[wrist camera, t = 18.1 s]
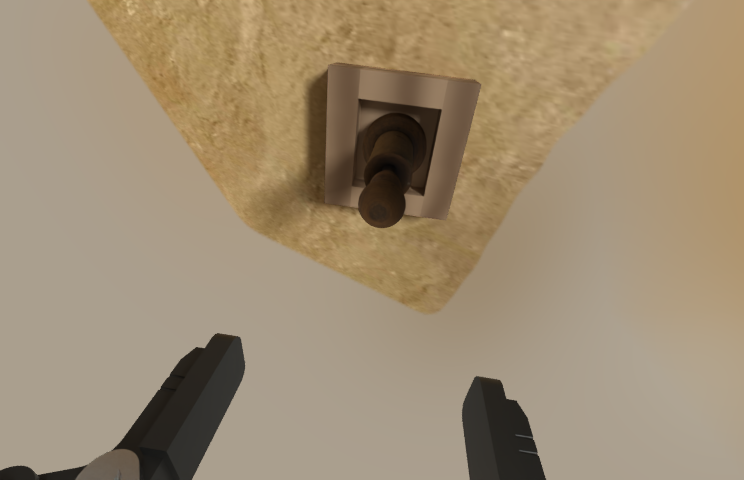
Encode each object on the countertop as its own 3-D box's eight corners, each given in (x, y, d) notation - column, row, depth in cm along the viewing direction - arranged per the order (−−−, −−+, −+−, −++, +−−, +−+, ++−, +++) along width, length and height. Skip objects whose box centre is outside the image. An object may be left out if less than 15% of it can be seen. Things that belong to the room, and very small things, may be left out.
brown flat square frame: (332, 187, 41) (324, 202, 37) (337, 62, 33) (328, 64, 30) (443, 203, 40) (446, 220, 36) (473, 79, 33) (481, 84, 29)
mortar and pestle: (373, 179, 37) (344, 266, 22) (357, 122, 34) (309, 175, 19) (431, 165, 36) (444, 248, 20) (418, 104, 33) (423, 145, 17)
